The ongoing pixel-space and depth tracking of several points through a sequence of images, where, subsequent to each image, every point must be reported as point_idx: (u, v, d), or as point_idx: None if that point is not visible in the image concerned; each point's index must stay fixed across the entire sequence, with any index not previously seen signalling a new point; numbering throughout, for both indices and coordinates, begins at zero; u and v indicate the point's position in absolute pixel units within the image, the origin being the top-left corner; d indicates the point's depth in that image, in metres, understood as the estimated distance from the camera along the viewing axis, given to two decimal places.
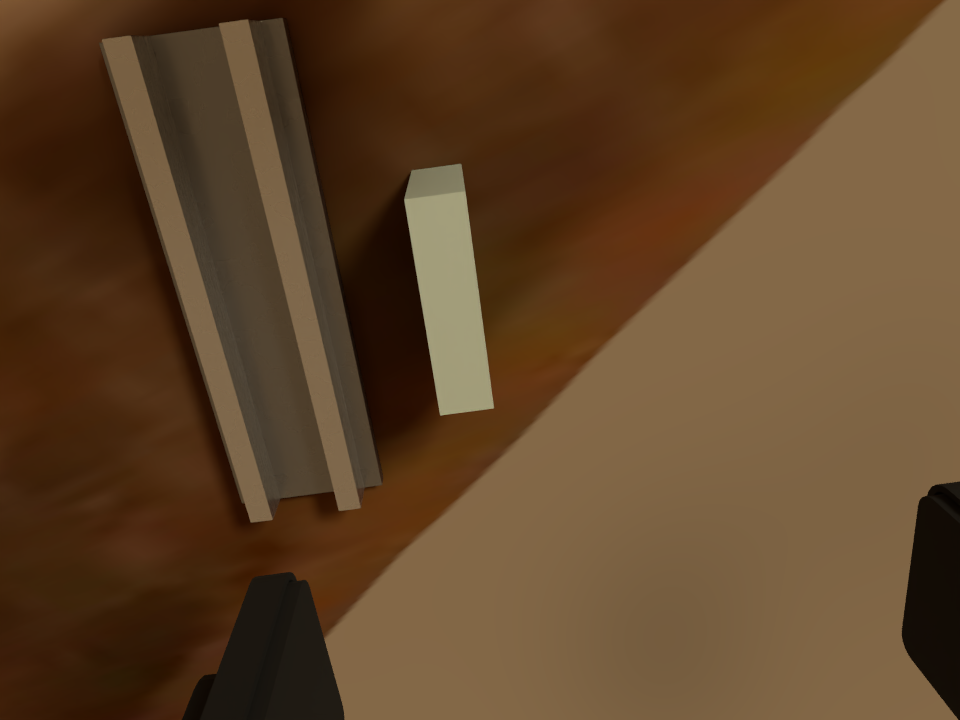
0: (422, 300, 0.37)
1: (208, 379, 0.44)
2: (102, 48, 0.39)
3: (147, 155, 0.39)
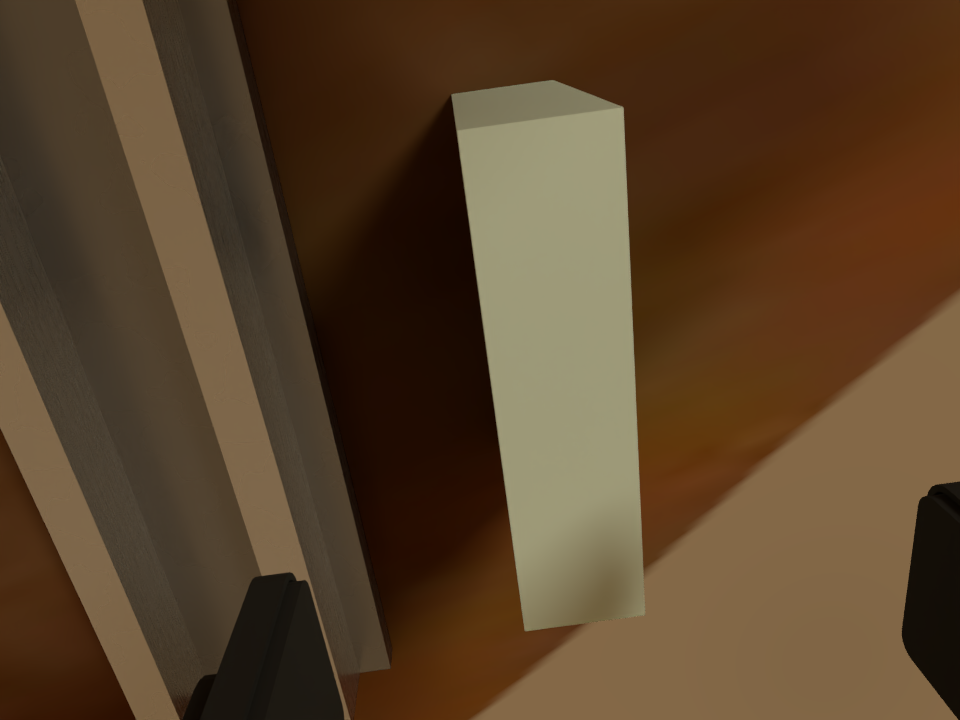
0: (495, 389, 0.15)
1: (45, 516, 0.22)
2: None
3: None
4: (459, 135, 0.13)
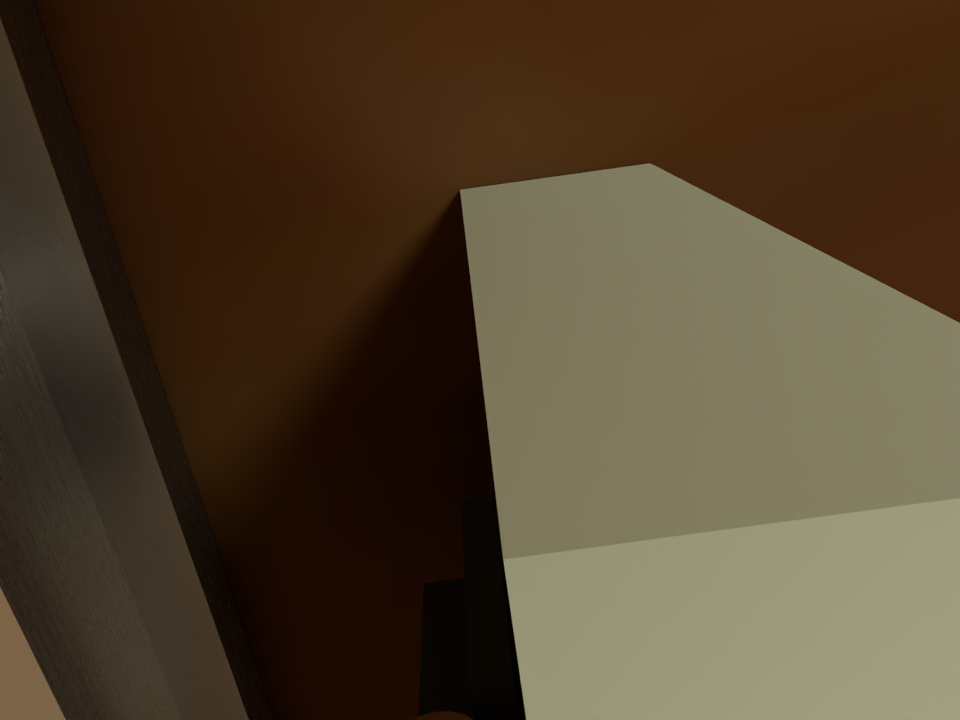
0: None
1: None
2: None
3: None
4: (513, 577, 0.03)
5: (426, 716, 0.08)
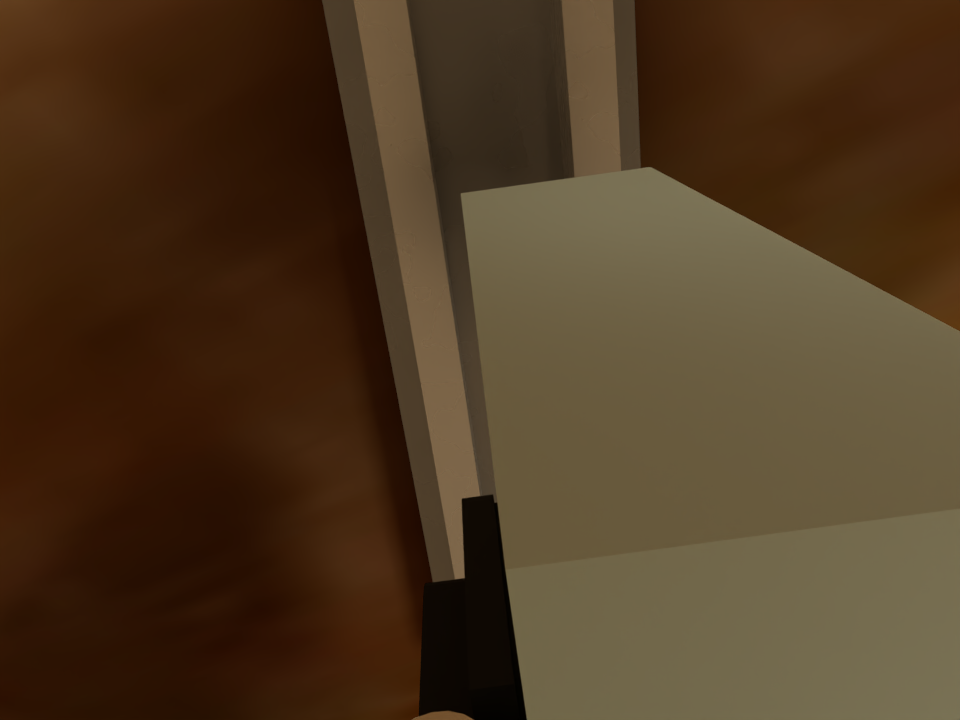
0: None
1: (431, 425, 0.26)
2: None
3: (375, 20, 0.21)
4: (515, 587, 0.03)
5: (426, 716, 0.08)
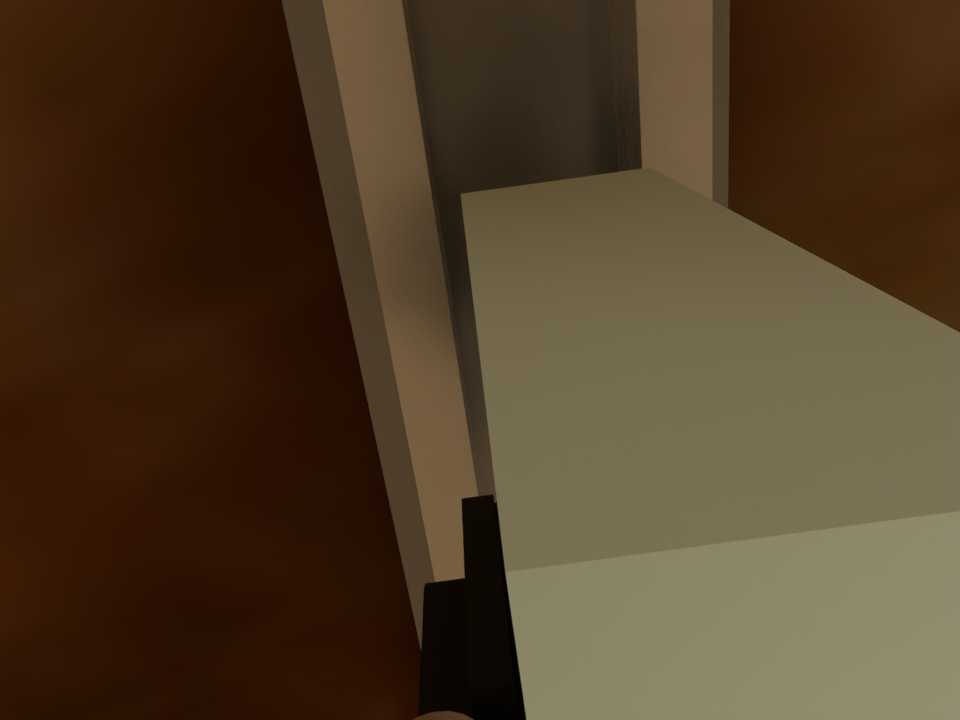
0: None
1: (434, 554, 0.19)
2: None
3: None
4: (515, 590, 0.03)
5: (426, 716, 0.08)
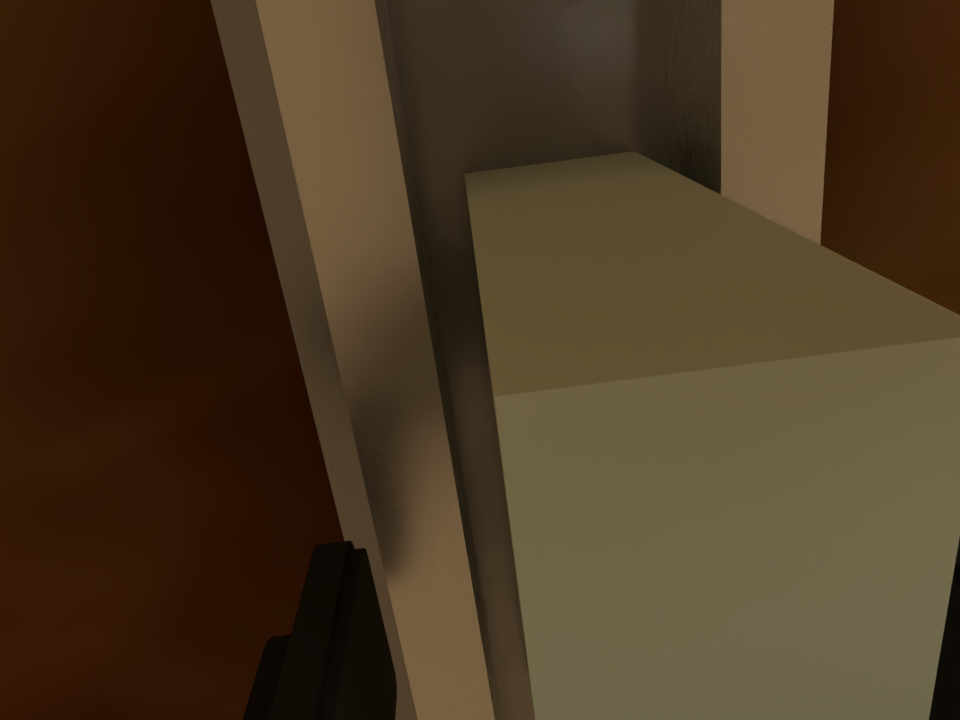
0: None
1: None
2: None
3: None
4: (501, 410, 0.04)
5: None
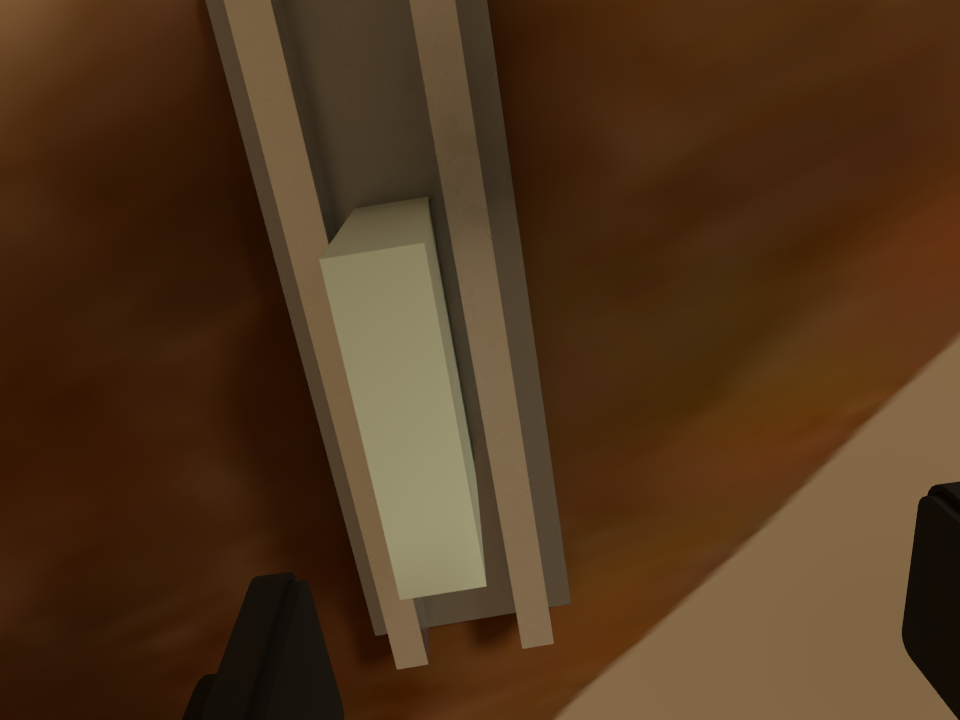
0: (360, 424, 0.22)
1: (348, 472, 0.30)
2: None
3: (275, 139, 0.25)
4: (320, 262, 0.20)
5: None
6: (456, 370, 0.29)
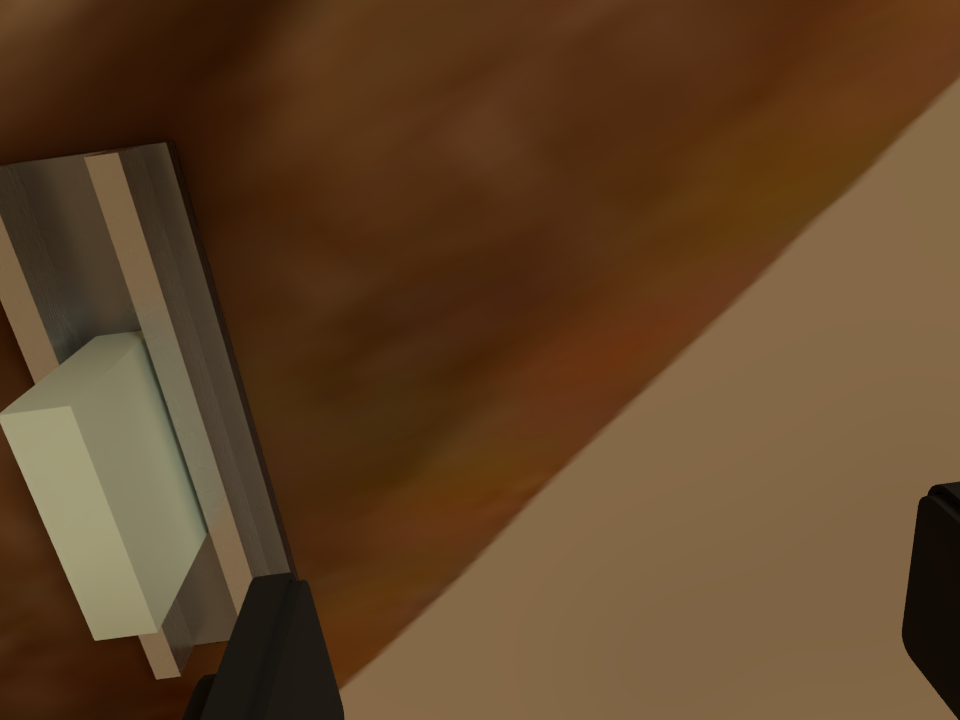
0: (44, 522, 0.31)
1: None
2: None
3: (11, 299, 0.34)
4: None
5: None
6: (171, 462, 0.38)
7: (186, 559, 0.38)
